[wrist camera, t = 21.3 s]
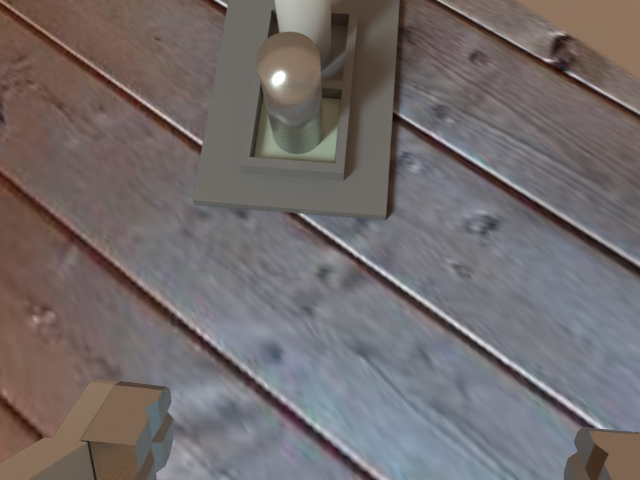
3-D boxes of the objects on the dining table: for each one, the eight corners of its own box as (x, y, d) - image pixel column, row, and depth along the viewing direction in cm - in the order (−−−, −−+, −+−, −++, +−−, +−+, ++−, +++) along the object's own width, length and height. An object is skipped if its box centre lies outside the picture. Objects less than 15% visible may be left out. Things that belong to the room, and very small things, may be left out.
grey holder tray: (398, 4, 53) (414, -100, 42) (385, 220, 46) (399, 160, 35) (233, -6, 54) (208, -110, 43) (195, 204, 47) (155, 141, 36)
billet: (325, 110, 48) (322, 33, 39) (321, 155, 47) (317, 87, 37) (275, 106, 48) (260, 29, 39) (269, 152, 47) (252, 83, 37)
